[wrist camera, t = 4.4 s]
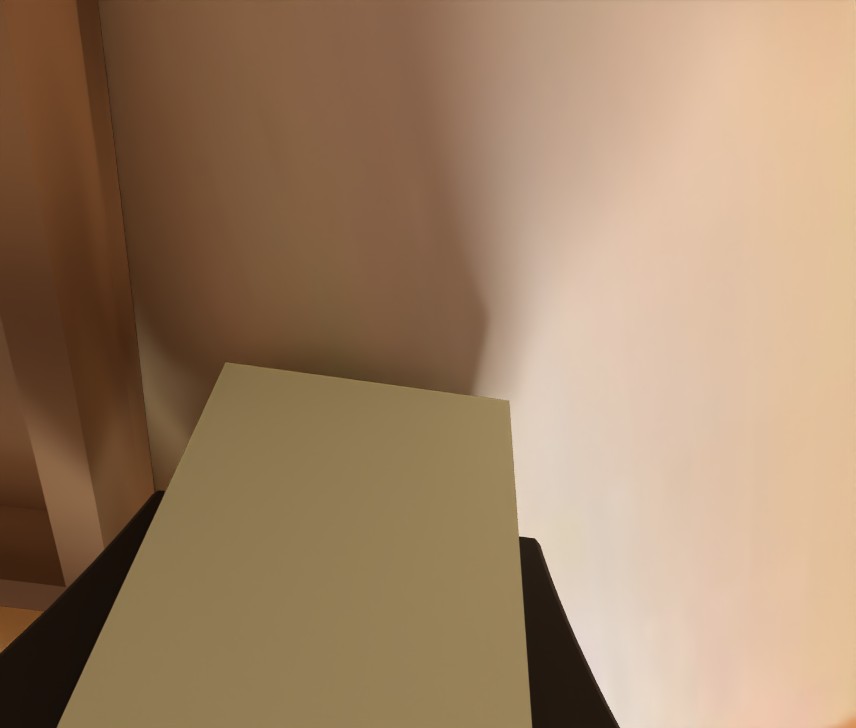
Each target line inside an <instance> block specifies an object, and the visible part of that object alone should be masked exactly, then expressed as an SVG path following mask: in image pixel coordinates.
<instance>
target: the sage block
mask: <svg viewBox="0 0 856 728" xmlns="http://www.w3.org/2000/svg"><path fill="white" fill-rule="evenodd" d="M57 728H532V719H531V705H530V690H529V676H528V662H527V647H526V633H525V619H524V605H523V590H522V576H521V562H520V548H519V533H518V519H517V505H516V490H515V476H514V462H513V448H512V433H511V419H510V405H509V401H507V400H500V399H492V398H485V397H478V396H470V395H463V394H456V393H448V392H441V391H434V390H426V389H419V388H412V387H404V386H397V385H390V384H382V383H375V382H368V381H361V380H353V379H346V378H339V377H331V376H324V375H317V374H309V373H302V372H295V371H287V370H280V369H273V368H265V367H258V366H251V365H243V364H236V363H229V362H225V364H224V367H223V369H222V371H221V373H220V375H219V377H218V380H217V382H216V384H215V386H214V388H213V390H212V393H211V395H210V397H209V399H208V401H207V403H206V406H205V408H204V410H203V412H202V414H201V416H200V419H199V421H198V423H197V425H196V427H195V429H194V432H193V434H192V436H191V438H190V440H189V442H188V444H187V447H186V449H185V451H184V453H183V455H182V457H181V460H180V462H179V464H178V466H177V468H176V470H175V473H174V475H173V477H172V479H171V481H170V483H169V486H168V488H167V490H166V492H165V494H164V496H163V499H162V501H161V503H160V505H159V507H158V509H157V512H156V514H155V516H154V518H153V520H152V522H151V525H150V527H149V529H148V531H147V533H146V535H145V538H144V540H143V542H142V544H141V546H140V548H139V551H138V553H137V555H136V557H135V559H134V561H133V564H132V566H131V568H130V570H129V572H128V574H127V577H126V579H125V581H124V583H123V585H122V587H121V590H120V592H119V594H118V596H117V598H116V600H115V603H114V605H113V607H112V609H111V611H110V613H109V616H108V618H107V620H106V622H105V624H104V626H103V629H102V631H101V633H100V635H99V637H98V639H97V642H96V644H95V646H94V648H93V650H92V652H91V654H90V657H89V659H88V661H87V663H86V665H85V667H84V670H83V672H82V674H81V676H80V678H79V680H78V683H77V685H76V687H75V689H74V691H73V693H72V696H71V698H70V700H69V702H68V704H67V706H66V709H65V711H64V713H63V715H62V717H61V719H60V722H59V724H58V726H57Z"/></svg>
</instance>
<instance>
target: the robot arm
mask: <svg viewBox="0 0 856 728" xmlns="http://www.w3.org/2000/svg"><path fill="white" fill-rule="evenodd" d="M165 492H166V491H161V490H159V491H157V492H155V493H154V494H152V495H151V496H150V498H149V499H148V500H147V501H146V502H145V504H144V505H143V506H142V507H141V508H140V510H139V511H138V512H137V513H136V514H135V515H134V517H133V518H132V519H131V520H130V521H129V522H128V524H127V525H126V526H125V527H124V528H123V529H122V530H121V532H120V533H119V534H118V535H117V536H116V537H115V538H114V539H113V541H112V542H111V543H110V544H109V545H108V546H107V547H106V548H105V549H104V550H103V551H102V553H101V554H100V555H99V556H98V557H97V558H96V559H95V560H94V561H93V562H92V563H91V565H90V566H89V567H88V568H87V569H86V570H85V571H84V572H83V573H82V574H81V575H80V576H79V577H78V578H77V579H76V580H75V581H74V582H73V583H72V584H71V585H70V586H69V587H68V588H67V589H66V590H65V591H64V592H63V593H62V595H61V596H60V597H59V598H58V599H57V600H56V601H55V602H54V603H53V604H52V605H51V606H50V607H49V608H48V609H47V610H46V611H45V612H44V613H43V614H42V615H41V616H40V617H38V618H37V619H36V620H35V621H34V622H33V623H32V624H31V625H30V626H29V627H28V628H27V629H26V630H25V631H24V632H23V633H21V634H20V635H19V636H18V637H17V638H16V639H15V640H14V641H13V642H12V643H11V644H10V645H9V646H8V647H7V648H6V649H5V650H3V651H2V652H1V653H0V728H57V726H58V724H59V722H60V719H61V717H62V715H63V713H64V711H65V709H66V706H67V704H68V702H69V700H70V698H71V696H72V693H73V691H74V689H75V687H76V685H77V683H78V680H79V678H80V676H81V674H82V672H83V670H84V667H85V665H86V663H87V661H88V659H89V657H90V654H91V652H92V650H93V648H94V646H95V644H96V642H97V639H98V637H99V635H100V633H101V631H102V629H103V626H104V624H105V622H106V620H107V618H108V616H109V613H110V611H111V609H112V607H113V605H114V603H115V600H116V598H117V596H118V594H119V592H120V590H121V587H122V585H123V583H124V581H125V579H126V577H127V574H128V572H129V570H130V568H131V566H132V564H133V561H134V559H135V557H136V555H137V553H138V551H139V548H140V546H141V544H142V542H143V540H144V538H145V535H146V533H147V531H148V529H149V527H150V525H151V522H152V520H153V518H154V516H155V514H156V512H157V509H158V507H159V505H160V503H161V501H162V499H163V496H164V494H165ZM519 548H520V562H521V576H522V590H523V605H524V619H525V633H526V647H527V662H528V676H529V690H530V705H531V719H532V728H620V727H619V725H618V723H617V721H616V720H615V718H614V716H613V714H612V712H611V710H610V708H609V706H608V704H607V702H606V700H605V698H604V696H603V694H602V692H601V690H600V688H599V686H598V684H597V682H596V680H595V678H594V676H593V674H592V672H591V670H590V667H589V665H588V663H587V661H586V659H585V657H584V655H583V652H582V650H581V648H580V646H579V644H578V642H577V639H576V637H575V635H574V633H573V630H572V628H571V626H570V623H569V621H568V619H567V616H566V614H565V611H564V609H563V606H562V604H561V601H560V599H559V597H558V594H557V591H556V589H555V586H554V584H553V581H552V578H551V576H550V573H549V570H548V567H547V564H546V561H545V559H544V556H543V553H542V549H541V546H540V544H539V543H538V542H537V540H536V539H535V538H527V537H519Z"/></svg>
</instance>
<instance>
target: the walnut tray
mask: <svg viewBox="0 0 856 728" xmlns="http://www.w3.org/2000/svg"><path fill="white" fill-rule="evenodd" d="M154 493H155V492H154V483H153V475H152V466H151V457H150V449H149V440H148V431H147V423H146V414H145V406H144V397H143V388H142V380H141V371H140V363H139V354H138V345H137V337H136V328H135V320H134V311H133V302H132V294H131V285H130V277H129V268H128V259H127V251H126V242H125V234H124V225H123V216H122V208H121V199H120V190H119V182H118V173H117V165H116V156H115V147H114V139H113V130H112V122H111V113H110V104H109V96H108V87H107V79H106V70H105V61H104V53H103V44H102V36H101V27H100V18H99V10H98V1H97V0H0V606H5V607H13V608H21V609H30V610H38V611H46V610H47V609H48V608H49V607H50V606H51V605H52V604H53V603H54V602H55V601H56V600H57V599H58V598H59V597H60V596H61V595H62V593H63V592H64V591H65V590H66V589H67V588H68V587H69V586H70V585H71V584H72V583H73V582H74V581H75V580H76V579H77V578H78V577H79V576H80V575H81V574H82V573H83V572H84V571H85V570H86V569H87V568H88V567H89V566H90V565H91V563H92V562H93V561H94V560H95V559H96V558H97V557H98V556H99V555H100V554H101V553H102V551H103V550H104V549H105V548H106V547H107V546H108V545H109V544H110V543H111V542H112V541H113V539H114V538H115V537H116V536H117V535H118V534H119V533H120V532H121V530H122V529H123V528H124V527H125V526H126V525H127V524H128V522H129V521H130V520H131V519H132V518H133V517H134V515H135V514H136V513H137V512H138V511H139V510H140V508H141V507H142V506H143V505H144V504H145V502H146V501H147V500H148V499H149V498H150V496H151V495H152V494H154Z"/></svg>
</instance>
